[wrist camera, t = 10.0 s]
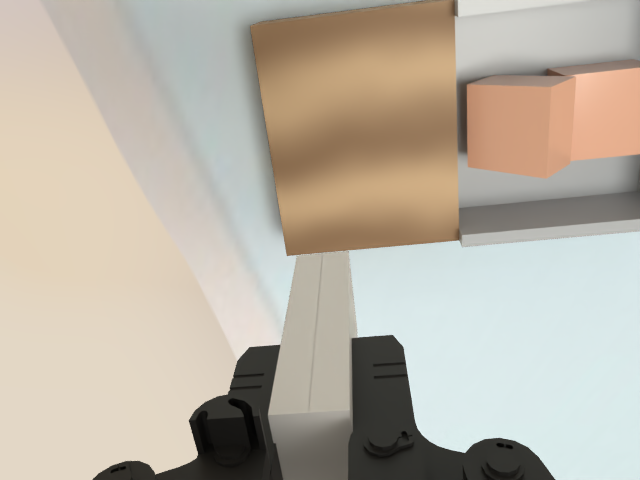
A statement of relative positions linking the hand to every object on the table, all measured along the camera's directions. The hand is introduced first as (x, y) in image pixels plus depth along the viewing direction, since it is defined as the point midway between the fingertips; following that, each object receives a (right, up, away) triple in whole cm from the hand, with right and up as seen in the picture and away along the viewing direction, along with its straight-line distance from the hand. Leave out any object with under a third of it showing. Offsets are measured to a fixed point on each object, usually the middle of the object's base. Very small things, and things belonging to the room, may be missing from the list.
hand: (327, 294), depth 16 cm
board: (+2, +9, +20) cm, 22 cm away
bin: (+14, +10, +19) cm, 26 cm away
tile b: (+16, +9, +15) cm, 24 cm away
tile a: (+12, +9, +17) cm, 23 cm away
